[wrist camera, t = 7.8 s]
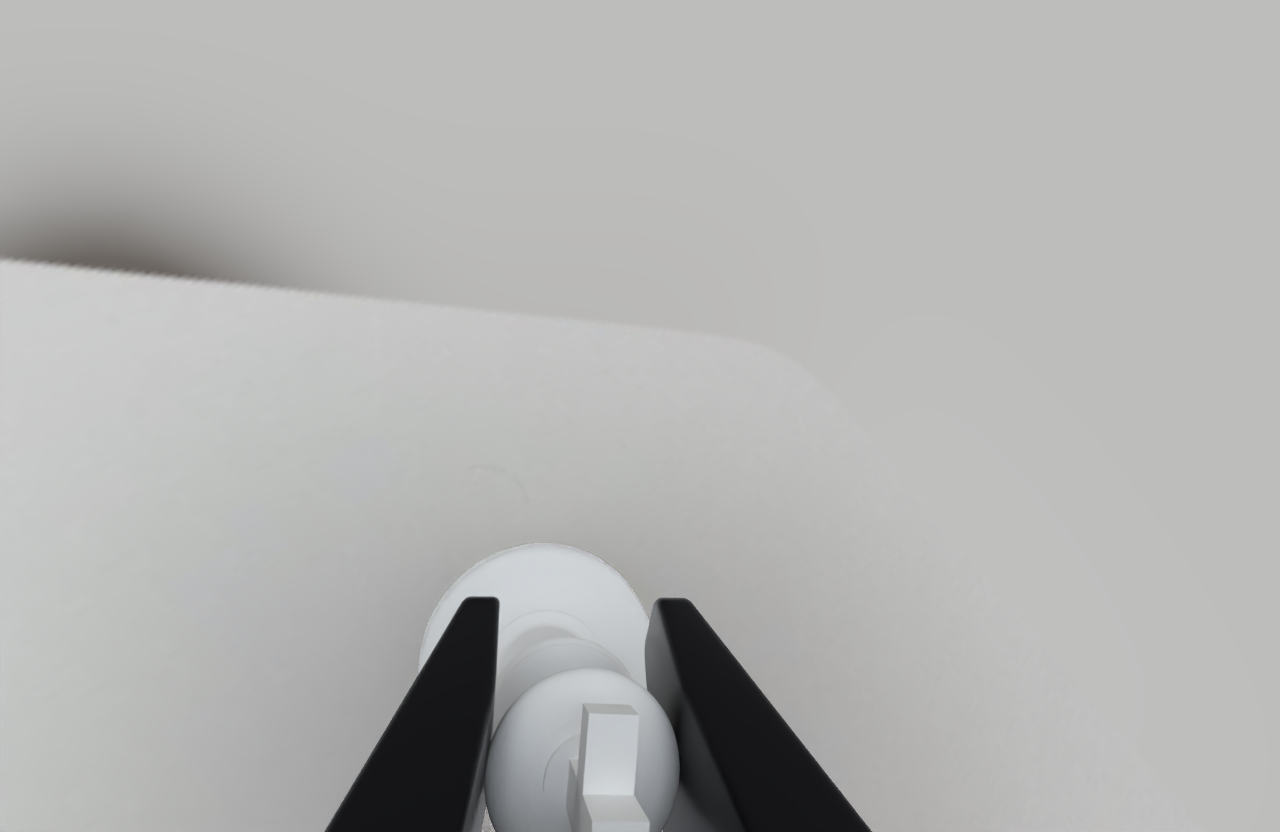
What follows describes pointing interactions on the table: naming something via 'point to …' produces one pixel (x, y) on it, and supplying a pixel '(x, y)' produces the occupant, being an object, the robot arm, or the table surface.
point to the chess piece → (568, 696)
